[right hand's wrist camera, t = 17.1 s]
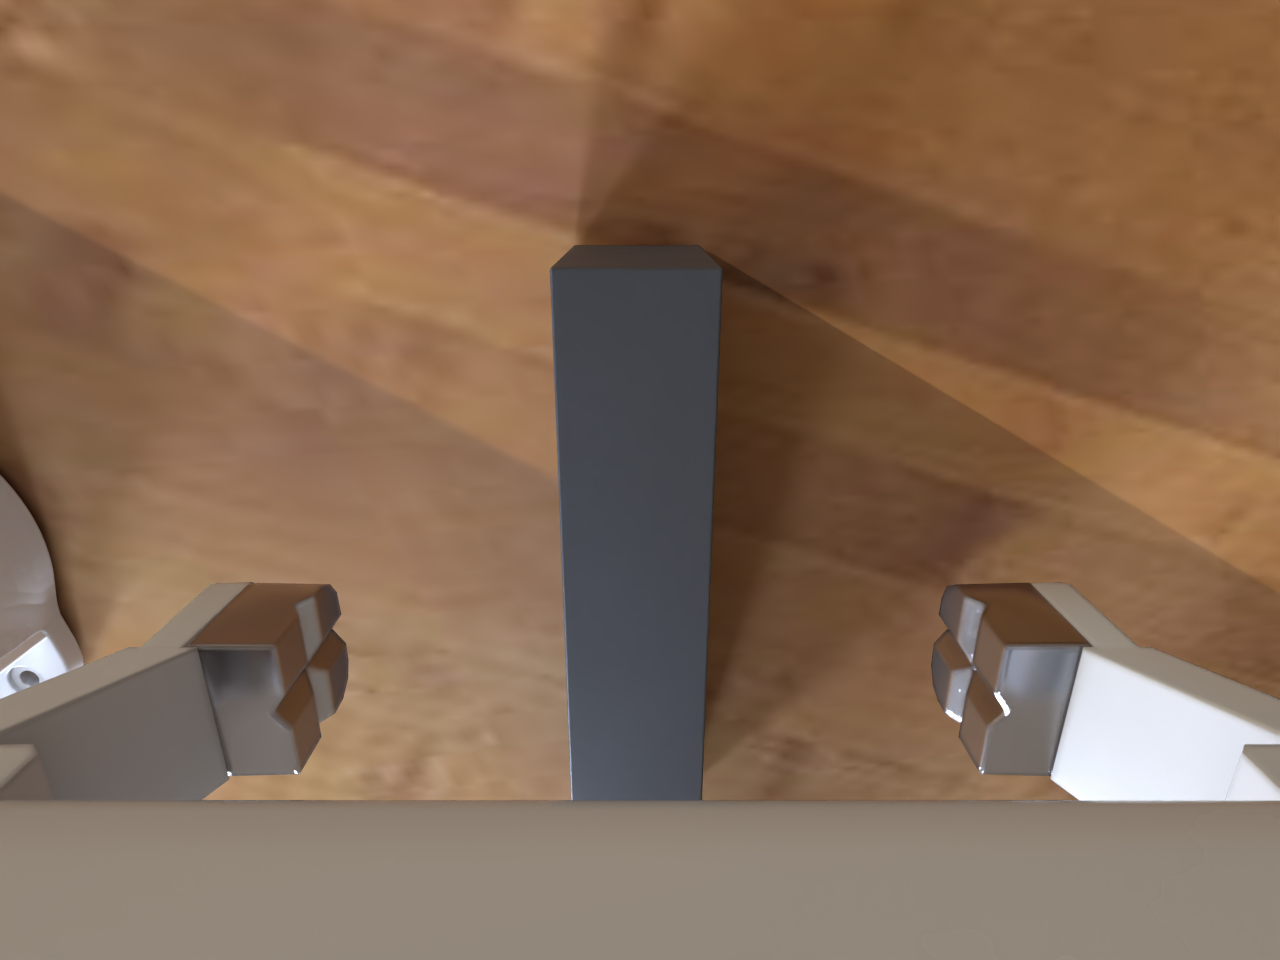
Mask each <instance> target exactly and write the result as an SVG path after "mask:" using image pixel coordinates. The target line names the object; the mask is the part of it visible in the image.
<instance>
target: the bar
mask: <svg viewBox="0 0 1280 960" xmlns="http://www.w3.org/2000/svg"><path fill="white" fill-rule="evenodd" d="M722 277H723V270H722V268H721V267H720V266H719V265H718V264H717V263H716V262H715V261H714V260H713V259H712V258H711V257H710V256H709V255H708V254H707V253H706V252H705V251H704V250H703V249H702V248H701V247H700V246H698V245H575V246H573V247H572V248H571V249H570V250H569V251H568V252H567V253H566V254H565V255H564V256H563V257H562V258H561V259H560V260H559V261H558V262H557V263H556V264H555V265H553V266H552V267H551V269H550V281H551V306H552V331H553V356H554V380H555V405H556V430H557V455H558V480H559V505H560V530H561V555H562V579H563V604H564V629H565V654H566V679H567V704H568V729H569V754H570V779H571V800H702V783H703V758H704V733H705V708H706V682H707V657H708V632H709V606H710V581H711V556H712V530H713V505H714V480H715V454H716V429H717V404H718V378H719V353H720V328H721V302H722Z"/></svg>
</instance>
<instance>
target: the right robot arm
mask: <svg viewBox="0 0 1280 960" xmlns="http://www.w3.org/2000/svg"><path fill="white" fill-rule="evenodd" d="M340 615H341V611H340V606H339V601H338V596H337V592H336V591H335V590H334V589H333V587H332V586H331V585H330V584H285V583H253V582H238V583H216V584H210V585H209V586H208V587H207V588H205V589H204V590H203V591H202V592H201V593H200V594H199V595H198V596H197V597H196V598H194V599H193V600H192V601H191V602H190V603H189V604H188V605H187V606H186V607H185V608H183V609H182V610H181V611H180V612H179V613H178V614H177V615H176V616H175V617H174V618H173V619H171V620H170V621H169V622H168V623H167V624H166V625H165V626H164V627H163V628H162V629H160V630H159V631H158V632H157V633H156V634H155V635H154V636H153V637H152V638H151V639H149V640H148V641H147V642H146V643H145V644H144V645H143V646H142V647H128V648H125V649H123V650H120V651H118V652H115V653H113V654H110V655H108V656H105V657H103V658H101V659H98V660H96V661H93V662H91V663H88V664H86V665H84V658H83V655H82V652H81V649H80V647H79V645H78V643H77V641H76V639H75V638H74V636H73V634H72V632H71V631H70V629H69V627H68V626H67V624H66V622H65V621H64V619H63V617H62V616H61V614H60V610H59V607H58V602H57V597H56V588H55V579H54V572H53V567H52V562H51V558H50V555H49V552H48V549H47V546H46V543H45V541H44V538H43V536H42V534H41V532H40V529H39V528H38V526H37V524H36V522H35V520H34V518H33V517H32V515H31V513H30V512H29V510H28V509H27V507H26V506H25V504H24V503H23V501H22V500H21V498H20V497H19V496H18V495H17V493H16V492H15V491H14V490H13V488H12V487H11V486H10V485H9V484H8V483H7V481H6V480H5V479H4V478H3V477H2V476H1V475H0V960H1280V699H1279V698H1276V697H1274V696H1271V695H1269V694H1266V693H1264V692H1261V691H1259V690H1256V689H1254V688H1251V687H1249V686H1246V685H1244V684H1241V683H1239V682H1237V681H1234V680H1232V679H1229V678H1227V677H1224V676H1222V675H1219V674H1217V673H1214V672H1212V671H1209V670H1207V669H1204V668H1202V667H1199V666H1197V665H1194V664H1192V663H1189V662H1187V661H1184V660H1182V659H1179V658H1177V657H1174V656H1172V655H1169V654H1167V653H1165V652H1162V651H1160V650H1157V649H1155V648H1152V647H1138V646H1137V645H1136V644H1135V643H1134V642H1133V641H1132V640H1131V639H1130V638H1128V637H1127V636H1126V635H1125V634H1124V633H1123V632H1122V631H1121V630H1120V629H1119V628H1117V627H1116V626H1115V625H1114V624H1113V623H1112V622H1111V621H1110V620H1109V619H1108V618H1107V617H1105V616H1104V615H1103V614H1102V613H1101V612H1100V611H1099V610H1098V609H1097V608H1096V607H1095V606H1093V605H1092V604H1091V603H1090V602H1089V601H1088V600H1087V599H1086V598H1085V597H1084V596H1082V595H1081V594H1080V593H1079V592H1078V591H1077V590H1076V589H1075V588H1074V587H1073V586H1072V585H1069V584H1066V583H1063V582H1049V583H999V584H957V585H951V586H947V587H946V589H945V591H944V594H943V596H942V599H941V605H940V610H939V615H940V617H941V618H942V620H943V622H944V623H945V625H946V626H947V628H948V629H947V630H946V631H945V632H944V633H943V634H942V636H941V637H940V638H939V639H938V640H937V641H936V642H935V643H934V648H933V656H932V664H931V667H932V678H933V687H934V690H935V693H936V696H937V699H938V702H939V703H940V705H941V707H942V709H943V711H944V712H945V714H947V715H948V716H950V717H952V718H953V719H955V720H957V721H958V722H960V723H961V726H960V732H959V738H960V740H961V742H962V743H963V745H964V747H965V749H966V750H967V752H968V754H969V755H970V757H971V759H972V760H973V762H974V764H975V766H976V767H977V769H978V771H979V772H980V774H997V775H1034V776H1051V780H1053V781H1054V782H1055V783H1057V784H1058V785H1059V786H1061V787H1062V788H1063V789H1065V790H1066V791H1067V792H1069V793H1070V794H1071V795H1073V796H1074V797H1076V798H1077V799H1078V800H202V799H203V798H205V797H206V796H207V795H209V794H210V793H211V792H213V791H214V790H215V789H217V788H218V787H220V786H221V785H222V784H224V783H225V782H226V781H228V780H229V776H246V775H281V774H300V772H301V771H302V769H303V767H304V766H305V764H306V762H307V761H308V759H309V757H310V755H311V754H312V752H313V750H314V749H315V747H316V745H317V743H318V742H319V740H320V738H321V732H320V726H319V723H320V722H322V721H323V720H325V719H327V718H328V717H330V716H332V715H333V714H335V712H336V711H337V709H338V707H339V705H340V703H341V701H342V699H343V697H344V693H345V688H346V684H347V680H348V654H347V647H346V643H345V642H344V641H343V640H342V639H341V638H340V637H339V636H338V635H337V633H336V632H335V631H334V630H333V629H332V628H333V626H334V625H335V623H336V622H337V620H338V618H339V617H340Z"/></svg>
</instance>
